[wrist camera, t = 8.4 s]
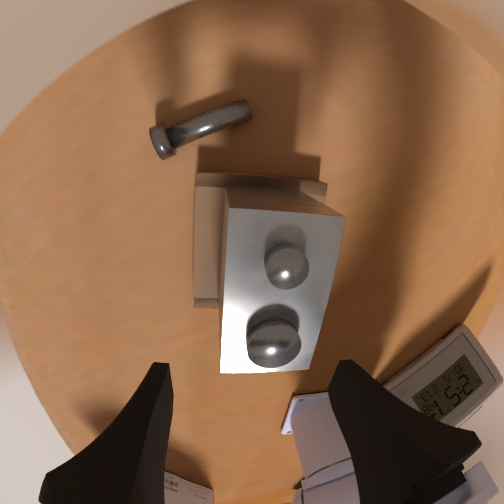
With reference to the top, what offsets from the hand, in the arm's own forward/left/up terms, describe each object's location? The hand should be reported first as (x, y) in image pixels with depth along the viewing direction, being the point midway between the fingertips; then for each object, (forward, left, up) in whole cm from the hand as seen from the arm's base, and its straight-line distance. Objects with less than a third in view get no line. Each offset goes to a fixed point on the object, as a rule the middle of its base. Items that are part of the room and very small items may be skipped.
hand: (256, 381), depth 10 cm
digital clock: (-24, +13, -10) cm, 29 cm away
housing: (-1, -3, -8) cm, 9 cm away
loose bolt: (+3, -10, -10) cm, 14 cm away
